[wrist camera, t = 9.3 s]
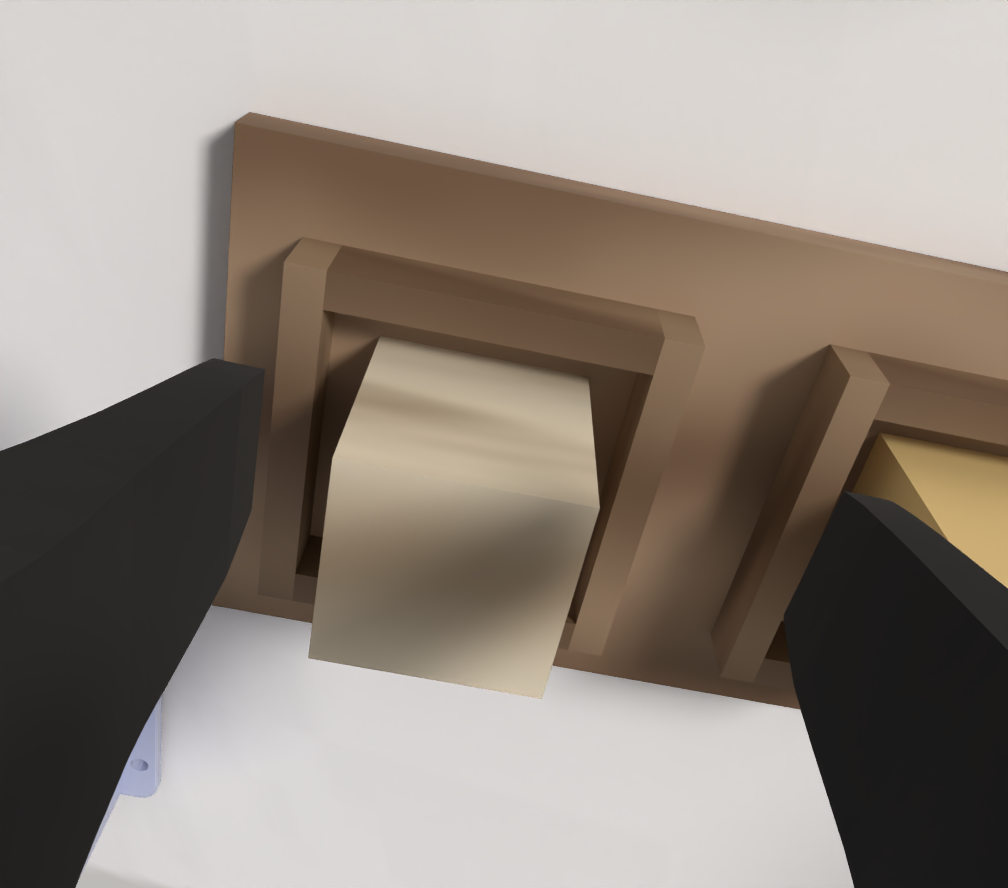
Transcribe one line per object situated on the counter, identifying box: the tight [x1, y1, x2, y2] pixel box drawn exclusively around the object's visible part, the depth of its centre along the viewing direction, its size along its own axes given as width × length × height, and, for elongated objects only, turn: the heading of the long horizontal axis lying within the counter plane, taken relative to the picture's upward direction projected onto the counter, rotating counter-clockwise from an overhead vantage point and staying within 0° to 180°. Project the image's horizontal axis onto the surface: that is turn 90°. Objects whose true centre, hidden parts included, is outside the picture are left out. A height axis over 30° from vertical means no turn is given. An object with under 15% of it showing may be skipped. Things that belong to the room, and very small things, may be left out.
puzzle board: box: [212, 112, 1008, 709], centre depth 20 cm, size 12×33×6 cm, turn 79°
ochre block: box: [852, 433, 1008, 588], centre depth 19 cm, size 4×4×5 cm
